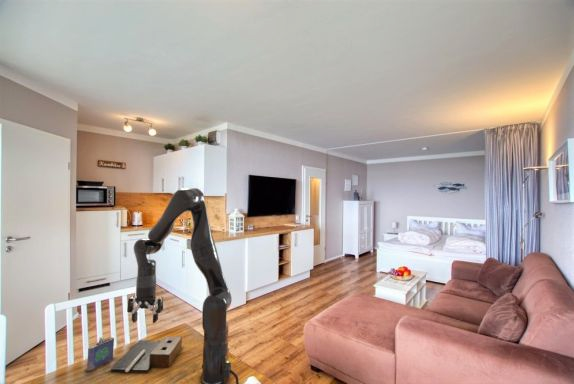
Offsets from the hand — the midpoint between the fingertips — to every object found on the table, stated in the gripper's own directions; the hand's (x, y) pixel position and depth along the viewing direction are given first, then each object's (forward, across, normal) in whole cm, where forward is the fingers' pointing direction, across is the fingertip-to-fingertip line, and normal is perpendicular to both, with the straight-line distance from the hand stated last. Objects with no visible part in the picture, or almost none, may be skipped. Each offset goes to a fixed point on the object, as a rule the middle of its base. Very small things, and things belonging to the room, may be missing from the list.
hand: (145, 321), depth 110 cm
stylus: (+13, 0, +1) cm, 13 cm away
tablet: (+15, 0, 0) cm, 15 cm away
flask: (+15, -14, -6) cm, 21 cm away
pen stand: (+15, +10, 0) cm, 18 cm away
